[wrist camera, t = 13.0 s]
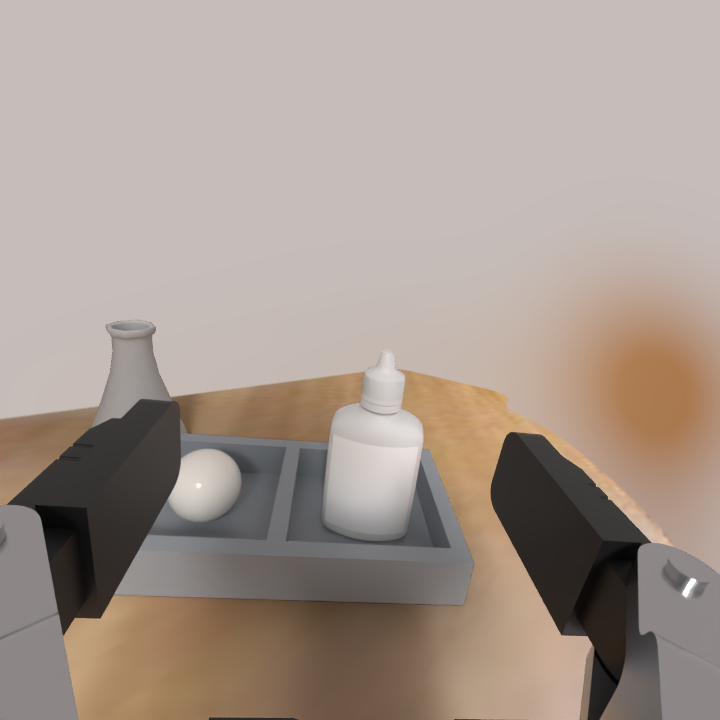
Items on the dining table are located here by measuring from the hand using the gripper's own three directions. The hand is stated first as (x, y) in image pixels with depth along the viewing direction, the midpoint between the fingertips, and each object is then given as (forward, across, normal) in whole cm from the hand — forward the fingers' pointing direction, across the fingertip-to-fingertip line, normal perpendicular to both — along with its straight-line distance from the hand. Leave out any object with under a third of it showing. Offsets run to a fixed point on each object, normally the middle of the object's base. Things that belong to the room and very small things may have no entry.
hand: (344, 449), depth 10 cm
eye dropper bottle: (+12, -3, +14) cm, 19 cm away
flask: (+22, +15, +15) cm, 30 cm away
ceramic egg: (+13, +7, +14) cm, 20 cm away
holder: (+13, +2, +14) cm, 19 cm away
